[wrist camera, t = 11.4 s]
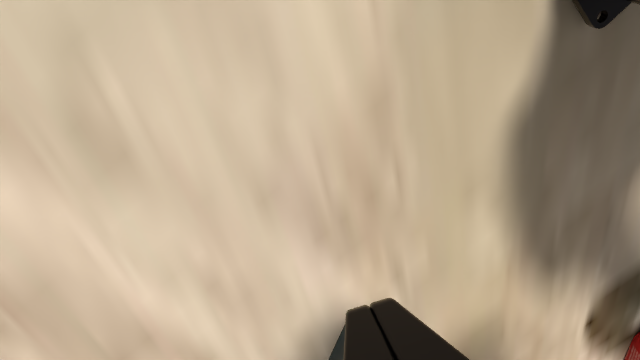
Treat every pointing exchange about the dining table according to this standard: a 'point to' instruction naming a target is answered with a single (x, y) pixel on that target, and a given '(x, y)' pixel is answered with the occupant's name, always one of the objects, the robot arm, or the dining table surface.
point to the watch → (339, 348)
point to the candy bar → (634, 349)
